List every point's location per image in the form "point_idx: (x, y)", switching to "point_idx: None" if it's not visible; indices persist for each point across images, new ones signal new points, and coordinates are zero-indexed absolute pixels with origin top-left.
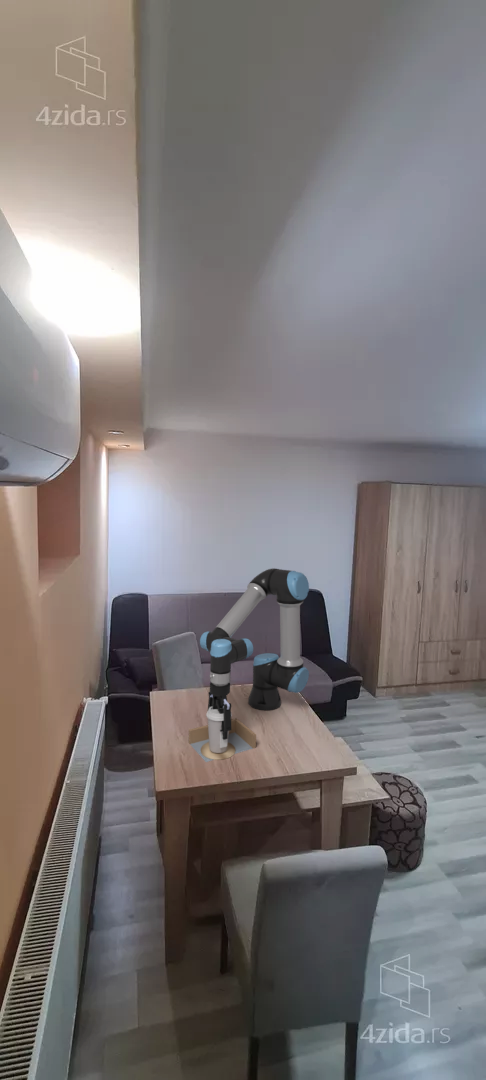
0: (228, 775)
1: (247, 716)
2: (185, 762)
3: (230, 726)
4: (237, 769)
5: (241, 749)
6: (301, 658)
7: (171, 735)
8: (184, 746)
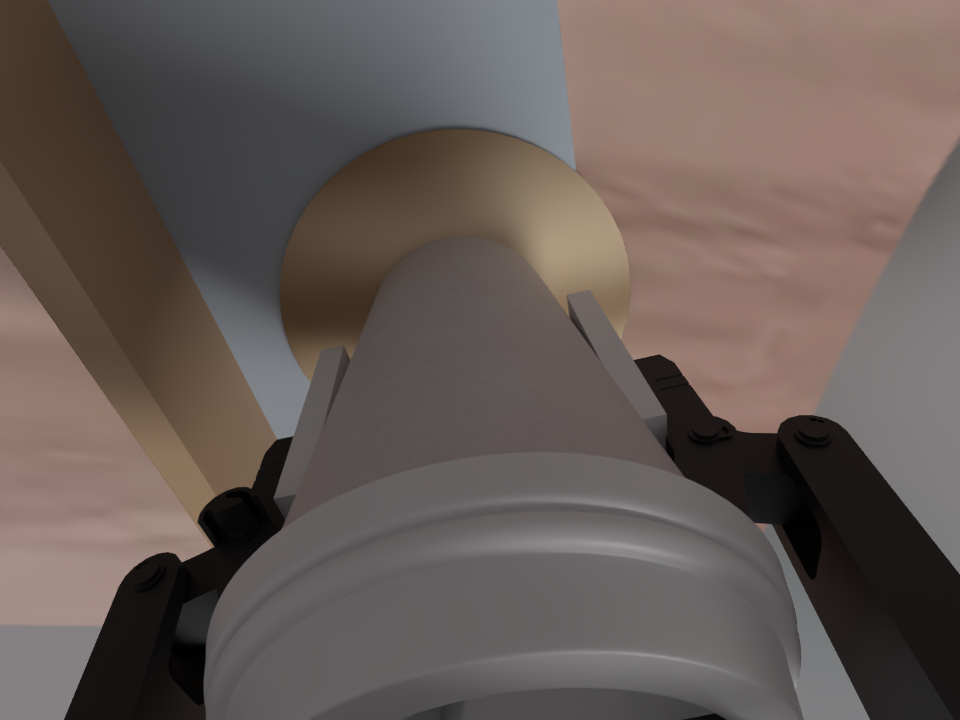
0: (819, 302)
1: None
2: None
3: (874, 482)
4: (789, 205)
5: (516, 52)
6: None
7: (127, 573)
8: None
